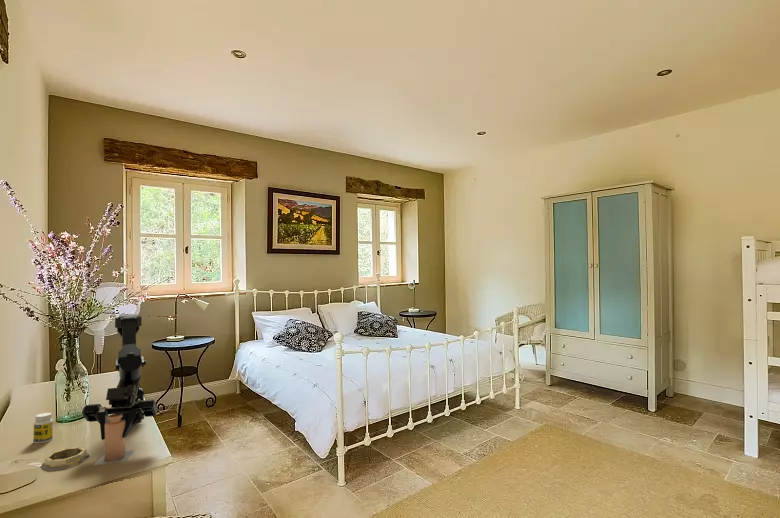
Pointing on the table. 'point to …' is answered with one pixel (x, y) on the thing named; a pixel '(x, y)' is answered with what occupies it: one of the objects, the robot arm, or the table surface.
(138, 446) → the table surface
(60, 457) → the holder
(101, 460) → the tile
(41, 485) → the table surface
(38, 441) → the supplement bottle
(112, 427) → the vase
